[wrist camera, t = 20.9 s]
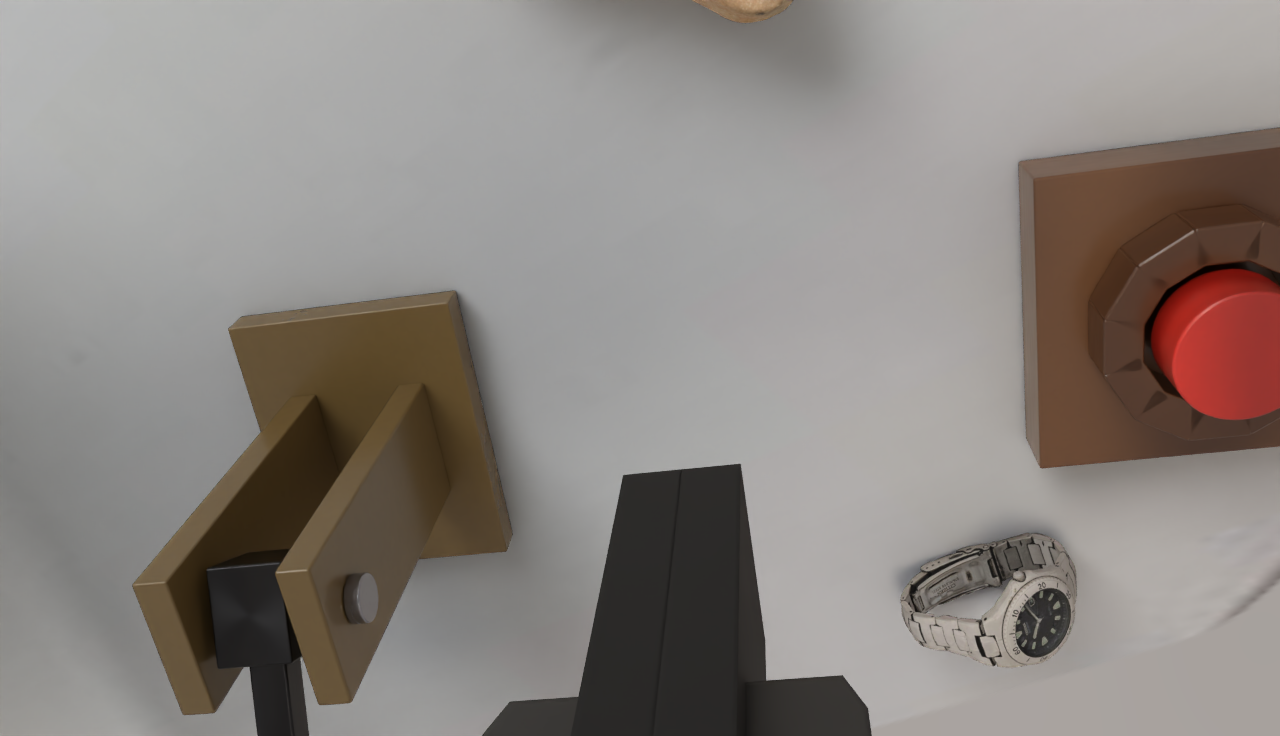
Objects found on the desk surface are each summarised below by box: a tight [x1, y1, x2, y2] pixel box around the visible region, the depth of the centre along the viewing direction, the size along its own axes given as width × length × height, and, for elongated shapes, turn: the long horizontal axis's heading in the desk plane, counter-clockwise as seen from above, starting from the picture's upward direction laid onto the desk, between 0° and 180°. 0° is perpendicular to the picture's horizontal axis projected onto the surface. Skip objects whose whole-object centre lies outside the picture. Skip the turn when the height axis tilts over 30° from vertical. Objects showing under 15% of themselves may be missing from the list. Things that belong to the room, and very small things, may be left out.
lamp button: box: [1151, 269, 1280, 420], centre depth 34 cm, size 4×4×2 cm
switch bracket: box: [132, 291, 513, 715], centre depth 37 cm, size 10×8×13 cm
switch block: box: [1019, 128, 1280, 468], centre depth 36 cm, size 10×10×4 cm
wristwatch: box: [901, 533, 1077, 668], centre depth 40 cm, size 4×6×5 cm, turn 112°
